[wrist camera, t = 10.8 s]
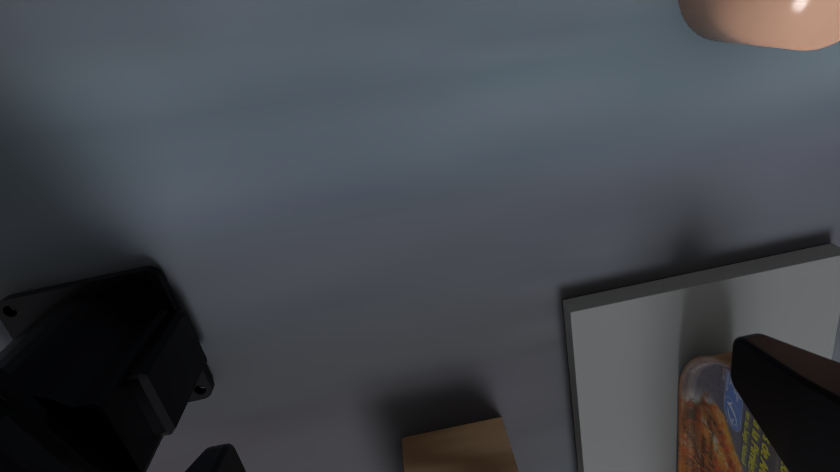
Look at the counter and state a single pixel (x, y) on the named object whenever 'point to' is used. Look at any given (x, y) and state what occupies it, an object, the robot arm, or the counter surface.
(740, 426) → the tin
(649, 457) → the mat
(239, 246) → the counter surface
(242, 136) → the counter surface
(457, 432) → the walnut block
